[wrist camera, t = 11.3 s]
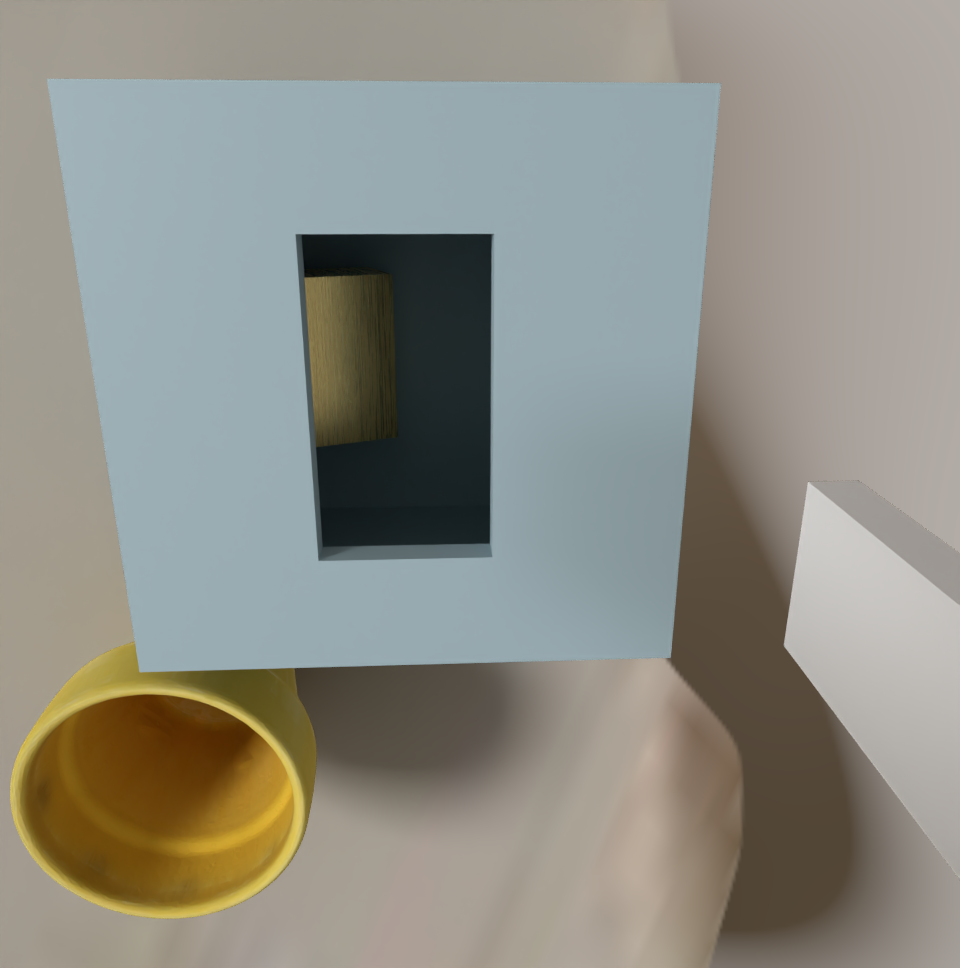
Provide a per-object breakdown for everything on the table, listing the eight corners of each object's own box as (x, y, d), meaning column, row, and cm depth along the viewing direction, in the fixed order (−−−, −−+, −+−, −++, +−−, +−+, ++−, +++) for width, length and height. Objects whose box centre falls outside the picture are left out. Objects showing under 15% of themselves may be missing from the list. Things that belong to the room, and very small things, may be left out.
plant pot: (357, 737, 40) (335, 900, 31) (145, 771, 40) (60, 944, 31) (310, 541, 37) (269, 661, 28) (77, 579, 37) (-41, 711, 28)
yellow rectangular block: (367, 266, 32) (204, 273, 30) (392, 274, 30) (216, 281, 27) (374, 418, 34) (222, 435, 32) (397, 437, 32) (234, 457, 29)
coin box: (187, 117, 31) (46, 78, 20) (618, 118, 32) (720, 83, 20) (230, 520, 36) (139, 672, 25) (598, 513, 37) (670, 657, 26)
